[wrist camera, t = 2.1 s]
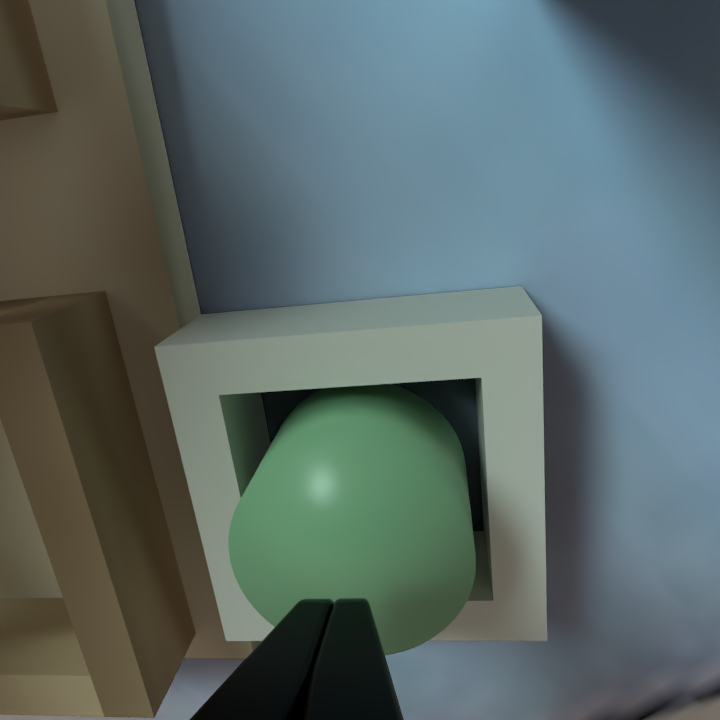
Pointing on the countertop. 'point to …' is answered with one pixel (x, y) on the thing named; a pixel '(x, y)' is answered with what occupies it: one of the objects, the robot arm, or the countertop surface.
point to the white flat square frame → (372, 367)
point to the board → (91, 376)
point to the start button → (360, 514)
